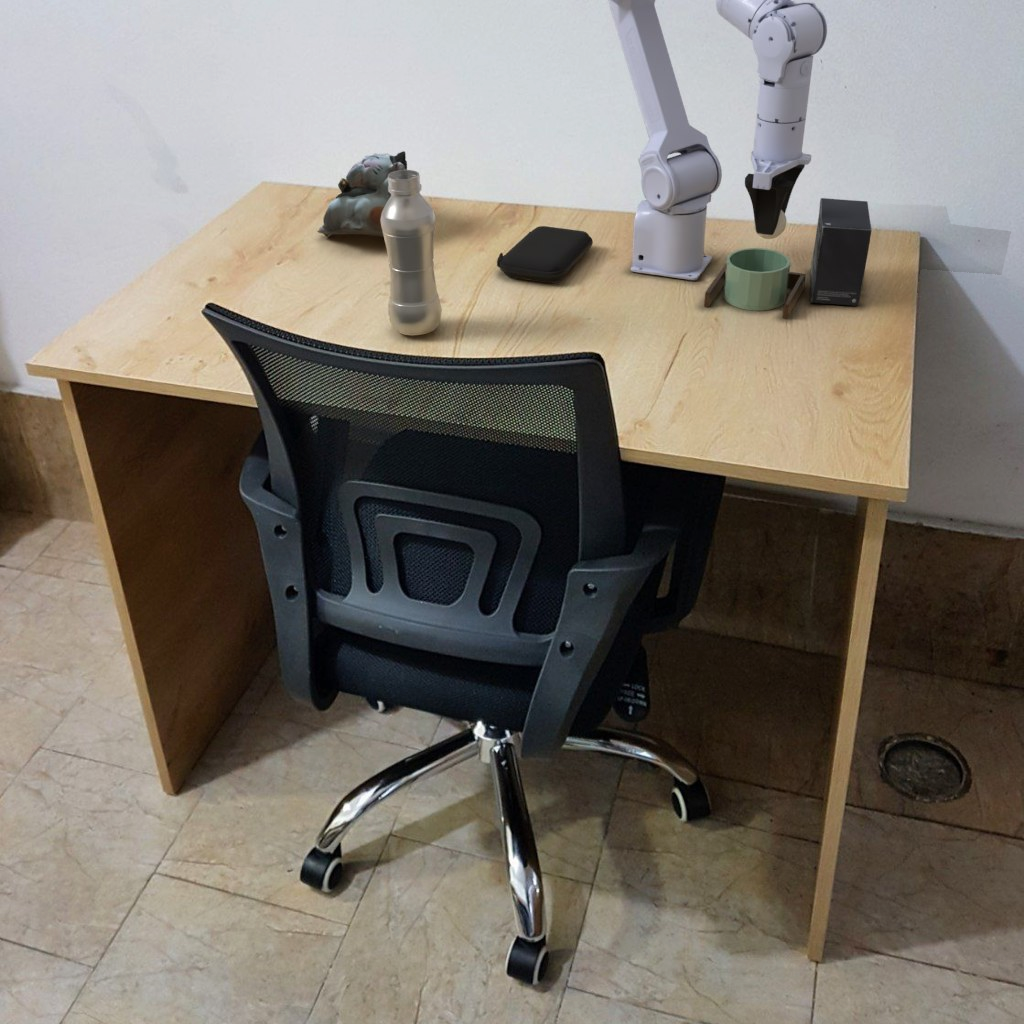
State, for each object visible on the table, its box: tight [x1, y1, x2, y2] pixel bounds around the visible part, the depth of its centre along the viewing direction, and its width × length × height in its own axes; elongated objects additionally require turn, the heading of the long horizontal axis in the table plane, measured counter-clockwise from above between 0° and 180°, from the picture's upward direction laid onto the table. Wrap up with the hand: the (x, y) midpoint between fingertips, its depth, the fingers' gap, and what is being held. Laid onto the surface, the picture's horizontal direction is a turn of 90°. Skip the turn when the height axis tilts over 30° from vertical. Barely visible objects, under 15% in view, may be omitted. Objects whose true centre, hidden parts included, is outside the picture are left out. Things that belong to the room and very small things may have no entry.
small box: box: [809, 197, 873, 307], centre depth 147 cm, size 11×6×10 cm, turn 168°
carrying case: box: [496, 225, 594, 284], centre depth 159 cm, size 11×3×15 cm
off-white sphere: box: [753, 210, 787, 240], centre depth 141 cm, size 4×4×4 cm
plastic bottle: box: [380, 169, 443, 336], centre depth 138 cm, size 6×7×20 cm
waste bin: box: [723, 247, 792, 312], centre depth 147 cm, size 8×8×5 cm
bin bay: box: [703, 263, 807, 320], centre depth 148 cm, size 11×10×2 cm
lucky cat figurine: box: [316, 150, 408, 238], centre depth 168 cm, size 15×12×14 cm
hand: (769, 227), depth 141 cm, fingers closed on off-white sphere, 4 cm apart
